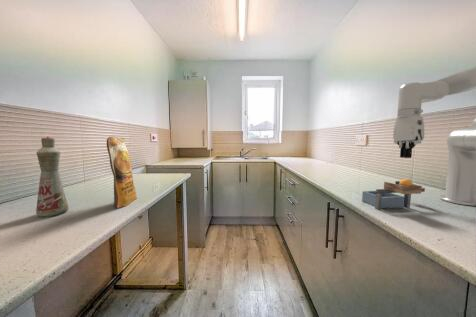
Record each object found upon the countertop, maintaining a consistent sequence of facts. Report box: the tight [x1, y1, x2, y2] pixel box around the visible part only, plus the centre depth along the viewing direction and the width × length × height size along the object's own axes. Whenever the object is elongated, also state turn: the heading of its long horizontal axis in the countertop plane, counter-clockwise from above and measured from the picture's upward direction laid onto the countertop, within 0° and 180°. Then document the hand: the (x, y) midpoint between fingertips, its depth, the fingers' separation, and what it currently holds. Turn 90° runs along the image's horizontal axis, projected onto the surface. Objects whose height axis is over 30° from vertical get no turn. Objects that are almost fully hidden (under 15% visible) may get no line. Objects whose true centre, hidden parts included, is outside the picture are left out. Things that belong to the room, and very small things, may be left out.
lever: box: [375, 180, 426, 195], centre depth 80 cm, size 18×22×4 cm
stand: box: [374, 194, 412, 211], centre depth 78 cm, size 2×14×6 cm, turn 97°
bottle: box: [35, 136, 70, 218], centre depth 72 cm, size 9×9×28 cm
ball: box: [399, 178, 414, 186], centre depth 73 cm, size 4×4×4 cm
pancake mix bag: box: [106, 136, 138, 209], centre depth 85 cm, size 7×19×28 cm, turn 5°
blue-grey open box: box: [361, 190, 404, 210], centre depth 83 cm, size 10×10×4 cm
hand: (405, 157), depth 86 cm, fingers closed
